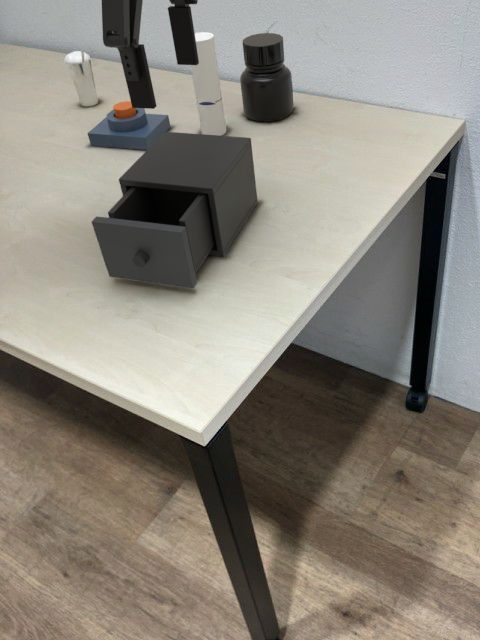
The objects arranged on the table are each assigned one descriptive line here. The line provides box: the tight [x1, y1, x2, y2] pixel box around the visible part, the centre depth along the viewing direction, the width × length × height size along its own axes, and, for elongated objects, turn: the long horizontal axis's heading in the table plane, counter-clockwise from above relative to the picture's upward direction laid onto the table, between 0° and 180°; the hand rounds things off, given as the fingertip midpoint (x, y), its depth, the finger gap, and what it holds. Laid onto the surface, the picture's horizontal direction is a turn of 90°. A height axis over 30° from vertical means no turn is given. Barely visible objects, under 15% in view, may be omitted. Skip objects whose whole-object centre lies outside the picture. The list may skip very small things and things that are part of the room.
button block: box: [87, 108, 171, 151], centre depth 105 cm, size 11×9×4 cm
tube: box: [190, 31, 227, 136], centre depth 100 cm, size 4×4×15 cm
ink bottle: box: [239, 32, 294, 122], centre depth 105 cm, size 10×9×12 cm
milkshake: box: [64, 50, 99, 107], centre depth 114 cm, size 5×5×10 cm
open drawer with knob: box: [91, 186, 216, 290], centre depth 75 cm, size 14×11×8 cm
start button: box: [112, 100, 137, 119], centre depth 103 cm, size 4×4×2 cm
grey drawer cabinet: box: [118, 131, 259, 257], centre depth 81 cm, size 14×13×10 cm
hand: (167, 84), depth 74 cm, fingers open, 13 cm apart
